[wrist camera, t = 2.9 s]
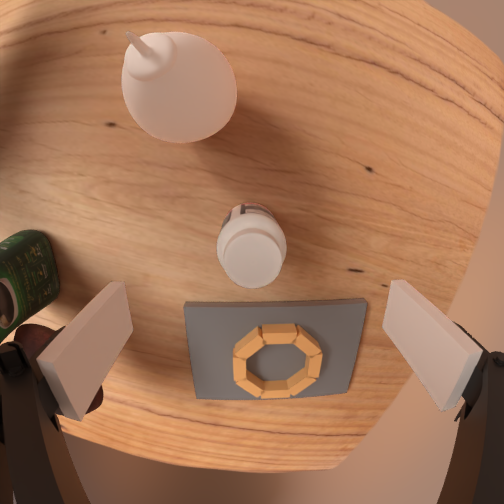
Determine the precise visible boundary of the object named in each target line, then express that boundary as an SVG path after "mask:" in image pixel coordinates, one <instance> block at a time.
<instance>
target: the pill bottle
mask: <svg viewBox="0 0 504 504" xmlns="http://www.w3.org/2000/svg"><path fill="white" fill-rule="evenodd" d="M286 251H287V245H286V238H285V236H284V233H283V231H282V229H281V228H280V226H279V224H278V223H277V221H276V219H275V217H274V216H273V214H272V213H271V212H270V211H269V210H268V209H267V208H266V207H264V206H263V205H261V204H257V203H251V202H249V203H242V204H240V205H237V206H236V207H234V208H233V209H231V210H230V211H229V213H228V214H227V215H226V217H225V219H224V221H223V224H222V228H221V231H220V234H219V236H218V240H217V256H218V260H219V262H220V264H221V266H222V267H223V269H224V270H225V271H226V273H227V275H228V277H229V278H230V279H231V280H232V281H233V282H234V283H235V284H237V285H239V286H241V287H244V288H249V289H257V288H261V287H264V286H266V285H268V284H270V283H271V282H273V281H274V280H275V279H276V277H277V276H278V274H279V273H280V270H281V267H282V264H283V262H284V259H285V256H286Z"/></svg>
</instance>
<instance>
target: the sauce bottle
mask: <svg viewBox="0 0 504 504" xmlns="http://www.w3.org/2000/svg"><path fill="white" fill-rule="evenodd" d="M126 36H127V38H128V40H129V41H130V42H131V44H130V45H129V47H128V48H127V50H126V53H125V58H124V65H123V69H122V76H121V81H122V92H123V96H124V101H125V104H126V106H127V108H128V110H129V112H130V114H131V116H132V118H133V119H134V120H135V121H136V123H137V124H138V125H139V126H140V127H141V128H142V129H143V130H144V131H145V132H147V133H148V134H149V135H151V136H153V137H155V138H157V139H160V140H162V141H166V142H171V143H190V142H196V141H199V140H202V139H205V138H208V137H210V136H212V135H213V134H215V133H217V132H218V131H219V130H221V129H222V128H223V127H224V126H225V125H226V124H227V123H228V122H229V120H230V118H231V116H232V115H233V113H234V109H235V106H236V101H237V86H236V79H235V76H234V73H233V70H232V67H231V66H230V64H229V62H228V60H227V59H226V57H225V56H224V54H223V53H222V52H221V51H220V50H219V49H218V48H217V47H216V46H215V45H213V44H212V43H210V42H209V41H207V40H205V39H204V38H202V37H199V36H196V35H193V34H190V33H185V32H165V33H159V32H155V33H149V34H145V35H143V36H141V37H138V36H137V35H135V34H134V33H132V32H130V31H127V32H126Z"/></svg>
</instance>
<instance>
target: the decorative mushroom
mask: <svg viewBox="0 0 504 504" xmlns="http://www.w3.org/2000/svg"><path fill="white" fill-rule="evenodd" d="M54 332H55V331H54V330H52V329H50V328H48V327H45V326H42V325H38V324H23V325H21V326H19V327H18V328H17V330H16V333H15V336H14V341H16V342H19V343H21V344H22V346H23V349H24V351H25V353H26V356H27V358H28V360H29V359H30V358H31V357H32V356H33V355H34V354H35V352H36V351H37V350H38V349H39V348H40V347H41V346H42V345H44V343H45V342H46V341H47V340H49V337H50V336H51V335H52V334H53V333H54ZM102 401H103V389H102V385H101V386H100V388H99V390H98V391H97V393H96V395H95V397H94V399H93V400H92V402H91V404H90V406H89V408H88V410H87V411H86V413H85V414H87V413H90V412H91V411H93V410H95V409H97V408H98V407H99V406H100V405H101V404H102ZM55 414H58V415H63V416H64V414H63V413H62V411H61V409H60V407H58V408H57V410H56V412H55Z"/></svg>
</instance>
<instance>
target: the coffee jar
mask: <svg viewBox="0 0 504 504" xmlns="http://www.w3.org/2000/svg"><path fill="white" fill-rule="evenodd" d="M59 287H60V286H59V279H58V273H57V268H56V264H55V259H54V256H53V252H52V249H51V246H50V243H49V241H48V239H47V238H46V237H45V236H44V235H43V234H42V233H41V232H39V231H37V230H23V231H20V232H18V233H16V234H14V235H12V236H10V237H8V238H7V239H5V240H4V241H2V242H1V243H0V344H1V342H2V341H3V340H4V339H5V338H6V337H7V336H8V335H9V334H10V333H11V332H12V331H13V330H14V329H16V328H17V327H18V326H19V325H21V324H22V323H23V322H25V321H26V320H27V319H29V318H30V317H31V316H33V315H34V314H36V313H37V312H39V311H40V310H42V309H43V308H45V307H46V306H47V305H49V304H50V303H51V302H53V301H54V300H55V299H56V298H57V296H58V294H59Z"/></svg>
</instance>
